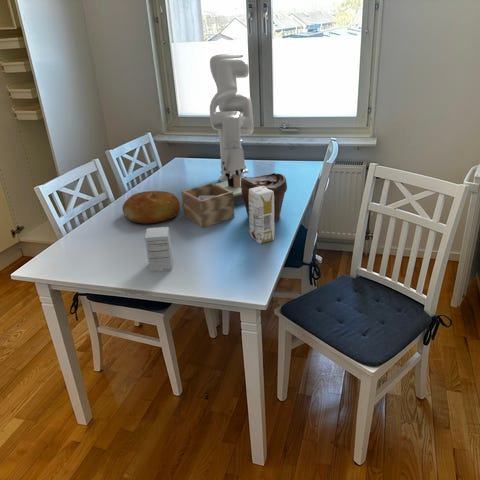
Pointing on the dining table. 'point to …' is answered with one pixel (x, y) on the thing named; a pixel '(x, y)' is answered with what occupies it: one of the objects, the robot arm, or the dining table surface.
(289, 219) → the dining table surface
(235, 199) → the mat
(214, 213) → the crate
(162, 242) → the supplement box
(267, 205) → the juice carton
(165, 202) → the bread
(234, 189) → the lid
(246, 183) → the brown plant pot
